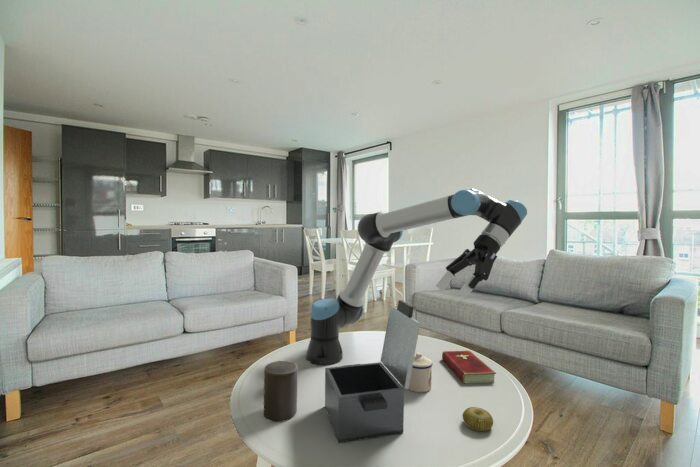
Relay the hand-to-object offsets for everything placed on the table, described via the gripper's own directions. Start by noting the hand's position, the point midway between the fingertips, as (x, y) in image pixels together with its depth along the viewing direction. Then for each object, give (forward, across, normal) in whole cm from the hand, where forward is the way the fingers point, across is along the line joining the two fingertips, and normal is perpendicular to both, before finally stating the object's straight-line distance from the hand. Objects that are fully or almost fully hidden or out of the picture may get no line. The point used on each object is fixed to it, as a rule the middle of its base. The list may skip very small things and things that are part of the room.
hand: (449, 291), depth 105 cm
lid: (+21, -1, +4) cm, 22 cm away
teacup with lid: (+28, +15, -21) cm, 38 cm away
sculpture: (+25, -10, -27) cm, 38 cm away
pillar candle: (+60, +8, +13) cm, 62 cm away
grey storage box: (+45, 0, -3) cm, 45 cm away
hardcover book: (+12, +22, -39) cm, 46 cm away
